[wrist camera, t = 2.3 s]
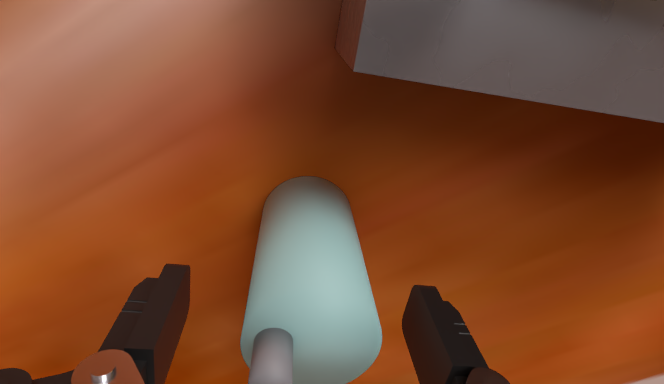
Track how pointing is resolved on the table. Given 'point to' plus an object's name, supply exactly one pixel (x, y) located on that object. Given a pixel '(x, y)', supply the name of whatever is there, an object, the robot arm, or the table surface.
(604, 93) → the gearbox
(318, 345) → the spout can
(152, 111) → the table surface
